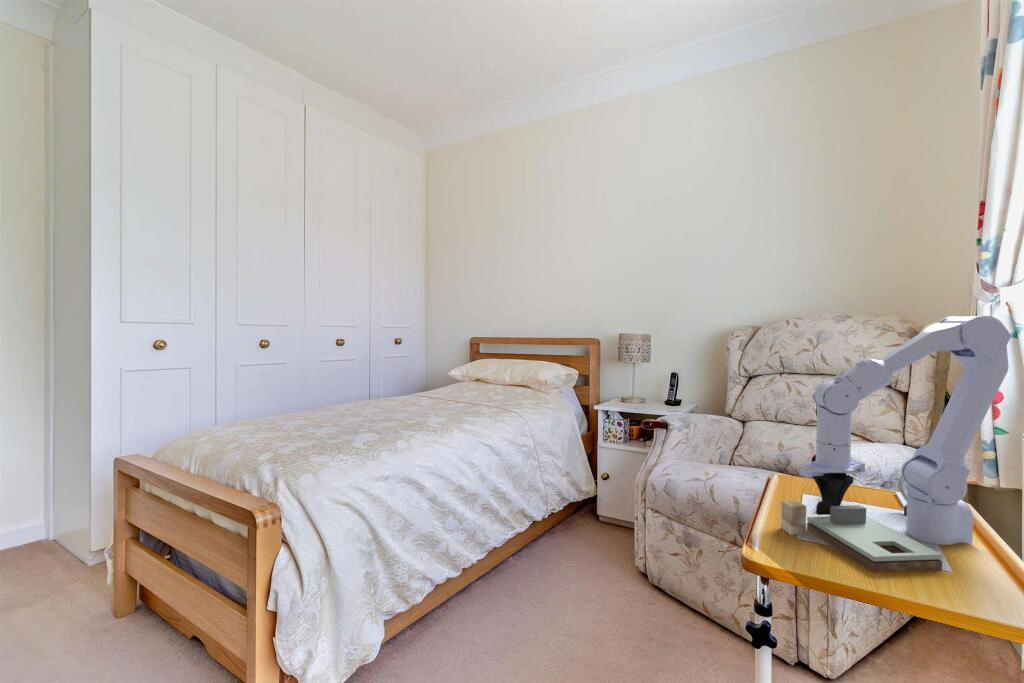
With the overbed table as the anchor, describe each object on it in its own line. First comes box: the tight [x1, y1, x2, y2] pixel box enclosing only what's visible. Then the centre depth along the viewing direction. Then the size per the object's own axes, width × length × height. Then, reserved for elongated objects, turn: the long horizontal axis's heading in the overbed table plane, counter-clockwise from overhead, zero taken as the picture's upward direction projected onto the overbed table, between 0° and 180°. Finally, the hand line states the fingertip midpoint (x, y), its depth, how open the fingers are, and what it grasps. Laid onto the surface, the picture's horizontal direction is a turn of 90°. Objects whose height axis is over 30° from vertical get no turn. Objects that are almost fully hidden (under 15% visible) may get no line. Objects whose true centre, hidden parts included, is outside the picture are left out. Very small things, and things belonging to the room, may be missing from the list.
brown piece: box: [806, 521, 943, 573], centre depth 87 cm, size 12×16×3 cm
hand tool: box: [815, 499, 830, 516], centre depth 110 cm, size 19×4×5 cm, turn 137°
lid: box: [806, 504, 943, 561], centre depth 87 cm, size 12×16×4 cm
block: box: [780, 499, 807, 536], centre depth 94 cm, size 3×3×7 cm
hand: (831, 509), depth 96 cm, fingers closed
